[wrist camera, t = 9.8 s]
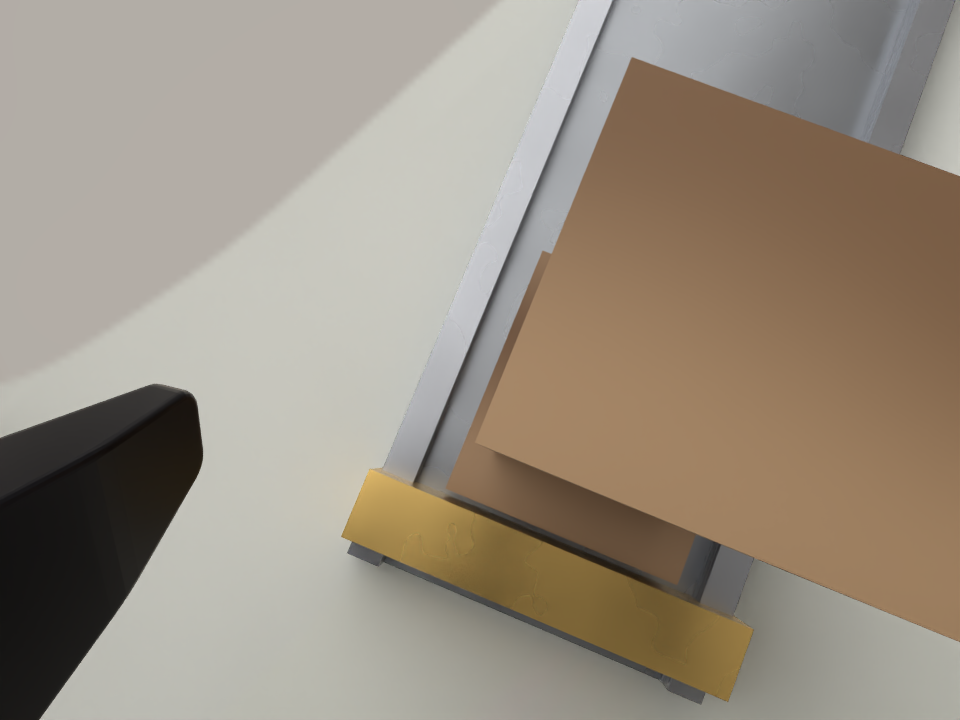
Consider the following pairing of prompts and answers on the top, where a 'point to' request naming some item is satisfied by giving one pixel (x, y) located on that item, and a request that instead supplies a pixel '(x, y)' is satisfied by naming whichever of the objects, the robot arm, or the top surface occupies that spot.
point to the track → (535, 227)
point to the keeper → (740, 355)
